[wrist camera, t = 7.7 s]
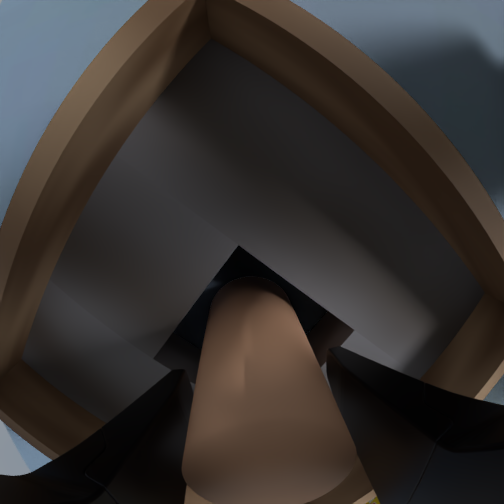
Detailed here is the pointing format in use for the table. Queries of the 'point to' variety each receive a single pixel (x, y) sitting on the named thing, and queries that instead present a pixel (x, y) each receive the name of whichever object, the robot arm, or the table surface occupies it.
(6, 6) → the table surface
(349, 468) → the peg
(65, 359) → the bore box
